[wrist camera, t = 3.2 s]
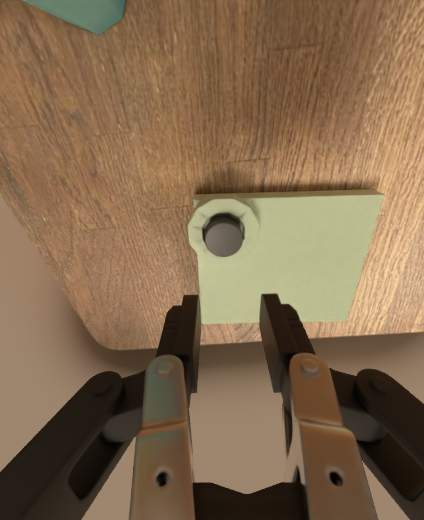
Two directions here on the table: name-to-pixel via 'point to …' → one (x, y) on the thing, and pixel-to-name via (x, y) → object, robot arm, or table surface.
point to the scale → (285, 252)
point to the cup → (84, 12)
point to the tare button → (223, 236)
